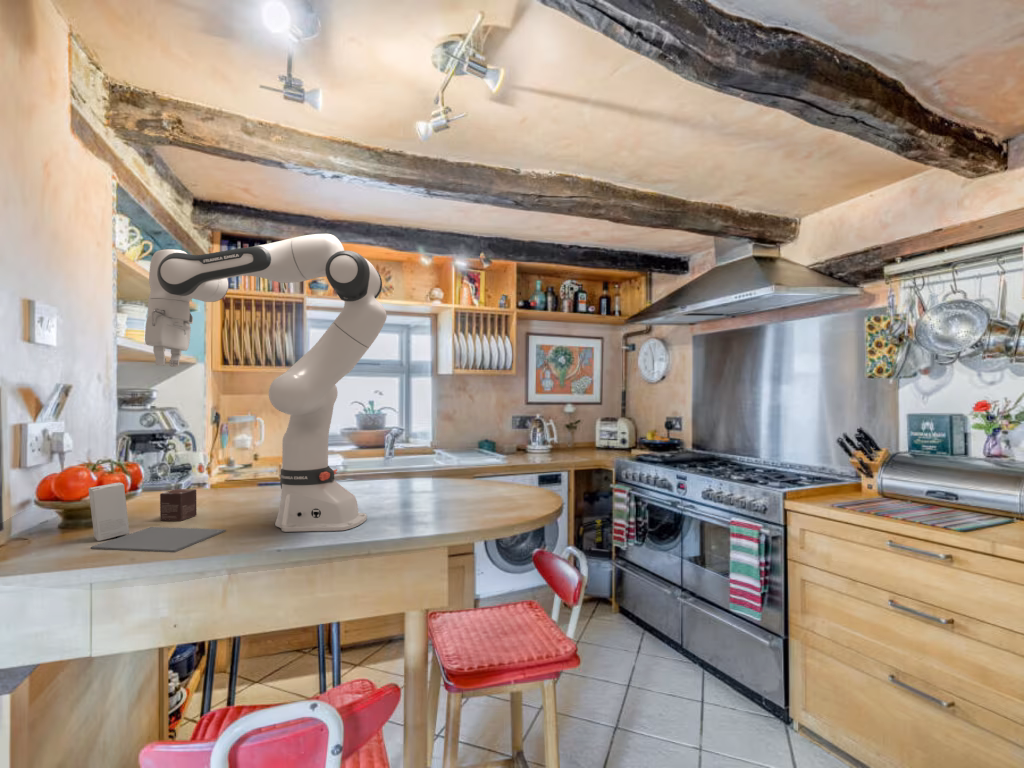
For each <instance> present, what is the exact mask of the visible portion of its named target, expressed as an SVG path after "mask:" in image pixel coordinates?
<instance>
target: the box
mask: <svg viewBox="0 0 1024 768" xmlns="http://www.w3.org/2000/svg"><path fill="white" fill-rule="evenodd" d="M159 502H160V503H159V504H160V505H159V506H160V507H159V509H160V510H159V511H160V512H159V513H160V514H159V515H160V516H159V517H160V522H161V521H165V522H167V521H170V522H172V521H173V522H174V521H175V522H177V521H178V522H183V521H185V520H188V519H190V518H194V517H196V516H197V515H198V514H197V489H196V488H195V489H193V488H192V489H191V488H189V489H188V488H186V489H184V488H176V489H172V490H168V491H164V492H160V493H159Z"/></svg>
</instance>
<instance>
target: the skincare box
mask: <svg viewBox="0 0 1024 768" xmlns="http://www.w3.org/2000/svg"><path fill="white" fill-rule="evenodd" d="M125 491H126V490H125V484H124V483H123V482H114V483H108V484H104V485H98V486H93V487H88V497H89V502H90V503H89V504H90V505H89V506H90V511H91V512H90V513H91V521H92V522H91V523H92V531H93V538H94V539H95V540H96V541H97V542H101V541H106V540H109V539H113V538H116V537H117V538H118V537H122V536H125V535H128V534H130V528H129V527H130V526H129V517H128V515H129V514H128V509H127V508H128V507H127V498H126V492H125Z"/></svg>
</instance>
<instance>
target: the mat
mask: <svg viewBox="0 0 1024 768" xmlns="http://www.w3.org/2000/svg"><path fill="white" fill-rule="evenodd" d="M226 531H227V529H224V528H222V529H220V528H219V529H218V528H197V527H196V528H195V527H193V528H192V527H167V526H166V527H165V526H163V527H162V526H150V527H147V528H144V529H140V530H138V531H135V532H132V533H129V534H125V535H121V536H118V537H117V538H116V537H115V538H114V539H113V538H112V539H111V540H107V541H105V542H100V543H98V544H95V545H92V546H90V549H91V550H112V551H114V550H115V551H138V552H140V551H141V552H162V553H163V552H164V553H176V552H178V551H181V550H184V549H186V548H189V547H191V546H194V545H196V544H198V543H200V542H202V541H205V540H208V539H210V538H213V537H215V536H217V535H219V534H223V533H224V532H226Z"/></svg>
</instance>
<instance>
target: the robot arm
mask: <svg viewBox="0 0 1024 768" xmlns="http://www.w3.org/2000/svg"><path fill="white" fill-rule="evenodd" d="M149 264H150V265H149V272H148V273H149V276H148V284H149V287H150V293H149V296H148V302H147V303H148V307H147V313H148V314H147V318H146V323H145V332H144V342H145V345H147V346H149V347H150V346H151V347H153V350H152V351H153V355H154V358H155V365H156V366H166V364H167V363H166V361H167V358H166V356H165V352H166V350H170V354H171V355H170V359H169V366H170V367H175V368H177V367H179V366H180V359H181V356H182V352H183V351H185V352H186V351H188V349H189V346H190V341H191V331H192V330H191V325H193V323H194V317H193V315H192V314H191V310H190V301H191V300H196V301H201V302H205V303H215V302H218V301H220V300H223V298H224V297H225V296H226V295H227V293H228V291H229V285H230V284H229V278H235V277H243V276H245V277H246V276H247V277H248V276H249V277H256V278H260V279H261V278H262V279H266V280H269V281H272V282H277V283H280V284H291V283H293V284H294V283H300V282H305V281H310V280H313V279H317V278H318V279H319V278H326V279H327V281H328V283H329V285H330V286H331V287H332V289H333V290H334V292H335V293H336V295H337V296H338V298H339V299H340V300H341V301H343V302H344V304H343V305H344V306H343V308H342V310H341V311H340V313H338V316H337V317H336V318H335V319H334V320H333V321H332V323H331V324H330V326H329V327H328V328H327V329H326V331H325V332H323V335H321V337H320V338H319V340H317V342H316V343H315V344H314V345H313V346H312V347H311V348H310V349H309V350H308V351H307V352H306V353H304V355H302V356H301V358H299V359H298V360H297V361H296V362H294V364H292V366H290V368H289V369H287V370H286V371H285V372H283V373H282V374H281V375H279V376H277V377H276V378H274V380H272V382H271V384H270V385H269V388H268V398H269V402H270V403H271V405H272V406H273V407H274V409H276V410H277V411H278V412H281V413H283V414H285V415H289V421H288V424H287V428H286V430H285V432H284V434H283V436H282V443H281V444H282V447H281V448H282V451H281V452H282V455H281V456H282V457H281V460H282V464H281V465H282V467H281V468H280V473H279V474H280V477H279V478H280V480H279V481H280V483H279V484H280V489H281V492H280V500H279V507H278V513H277V516H276V519H275V524H274V525H275V527H277V528H280V529H281V532H285V533H288V532H289V533H290V532H331V531H338V532H339V531H345V530H350V529H353V528H356V527H357V526H358V527H359V526H360V525H362V524H364V523H365V522H367V520H368V516H367V513H365V512H359V507H358V505H359V504H358V500H357V498H356V496H355V495H354V494H353V493H352V492H351V491H348V490H347V489H346V488H345V487H344V486H342V485H341V484H339V482H337V481H335V475H336V474H338V472H337V471H338V469H332V468H331V467H330V466H329V435H330V434H329V433H330V429H331V428H330V427H331V423H332V418H333V413H334V406H335V402H336V401H337V398H338V387H337V386H336V385H337V384H338V382H340V381H341V380H342V379H343V378H344V377H345V376H346V375H348V374H349V373H351V371H352V370H353V369H354V368H355V367H356V365H357V364H358V363H359V361H360V360H361V359H362V357H364V355H365V354H366V352H367V351H368V350H369V348H371V346H372V345H373V343H374V342H375V340H376V339H377V338H378V336H379V334H380V332H381V331H382V330H383V327H384V325H385V323H386V321H387V318H388V317H387V311H386V309H385V307H384V306H383V304H382V303H381V302H380V301H378V300H377V298H378V297H379V296H380V295H381V292H382V288H383V279H382V277H381V274H380V272H379V271H378V270H377V269H376V268H375V267H374V264H372V263H371V262H370V261H369V260H368V259H367V258H366V257H364V256H362V254H360V253H358V252H356V251H353V250H345V248H344V246H343V244H342V242H341V241H340V239H338V237H337V236H335V235H334V234H330V233H315V234H314V233H313V234H307V235H300V236H296V237H291V238H287V239H286V238H285V239H283V240H279V241H274V242H270V243H265V244H260V245H254V246H247V247H241V248H233V249H227V250H222V251H215V252H210V253H203V254H189V253H187V252H186V251H184V250H181V249H178V248H177V249H176V248H175V249H174V248H163V249H160V250H157V251H155V252H154V253H153V255H152V256H151V259H150V263H149Z"/></svg>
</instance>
